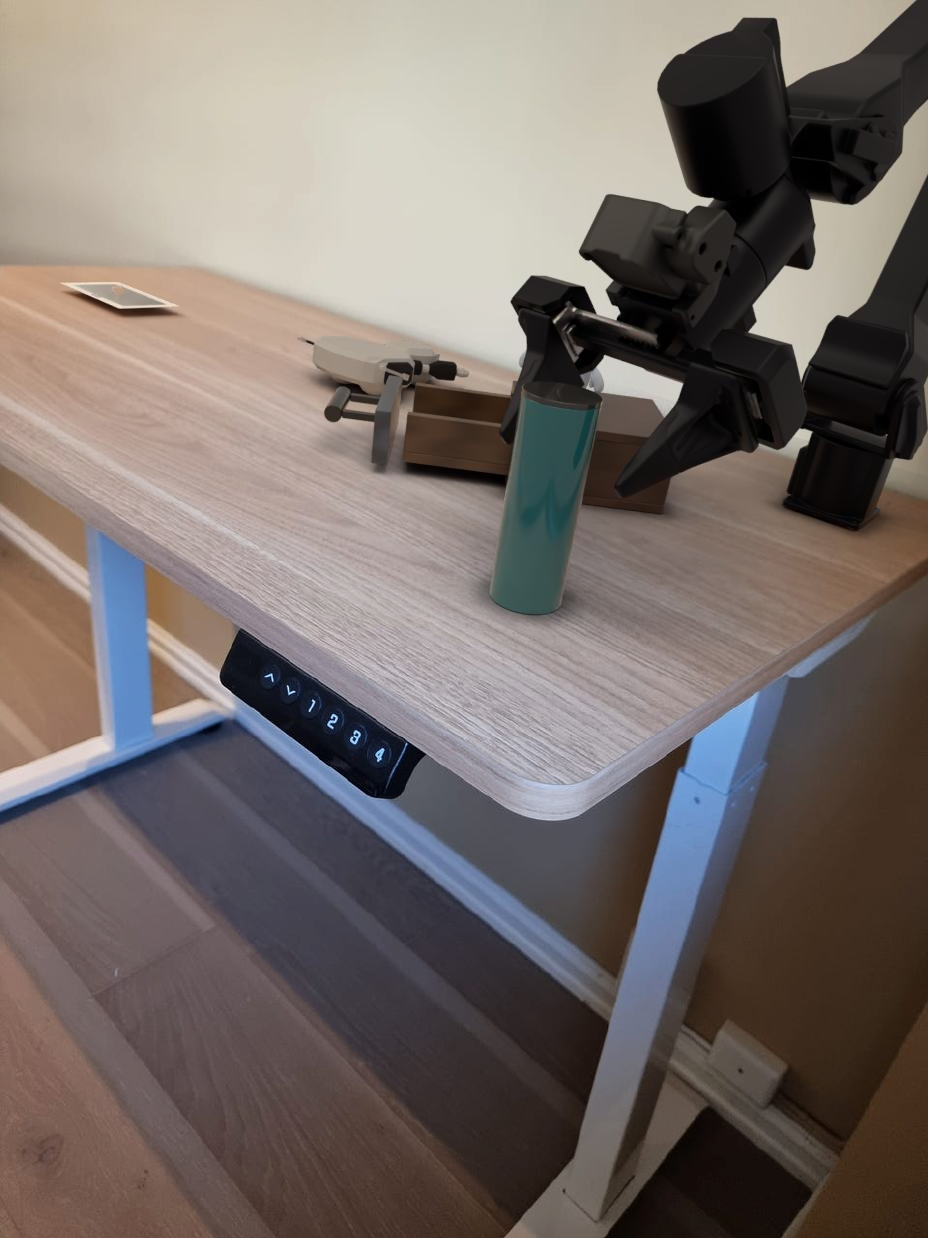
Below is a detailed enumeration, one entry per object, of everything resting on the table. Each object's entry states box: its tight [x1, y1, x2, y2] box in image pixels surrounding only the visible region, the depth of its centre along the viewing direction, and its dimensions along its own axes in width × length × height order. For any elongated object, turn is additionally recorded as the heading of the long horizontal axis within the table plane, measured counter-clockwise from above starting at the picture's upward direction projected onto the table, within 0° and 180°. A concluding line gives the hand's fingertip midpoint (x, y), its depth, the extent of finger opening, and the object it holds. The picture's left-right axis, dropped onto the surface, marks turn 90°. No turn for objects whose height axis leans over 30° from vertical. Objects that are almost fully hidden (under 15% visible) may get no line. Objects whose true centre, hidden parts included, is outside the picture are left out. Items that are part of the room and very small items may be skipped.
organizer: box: [504, 380, 672, 515], centre depth 73 cm, size 12×12×6 cm
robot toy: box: [296, 335, 470, 397], centre depth 92 cm, size 12×4×15 cm
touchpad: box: [60, 281, 180, 310], centre depth 111 cm, size 8×15×2 cm, turn 46°
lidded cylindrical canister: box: [488, 381, 603, 615], centre depth 51 cm, size 4×4×12 cm
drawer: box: [323, 375, 513, 476], centre depth 73 cm, size 16×11×4 cm
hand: (557, 464), depth 50 cm, fingers open, 9 cm apart
